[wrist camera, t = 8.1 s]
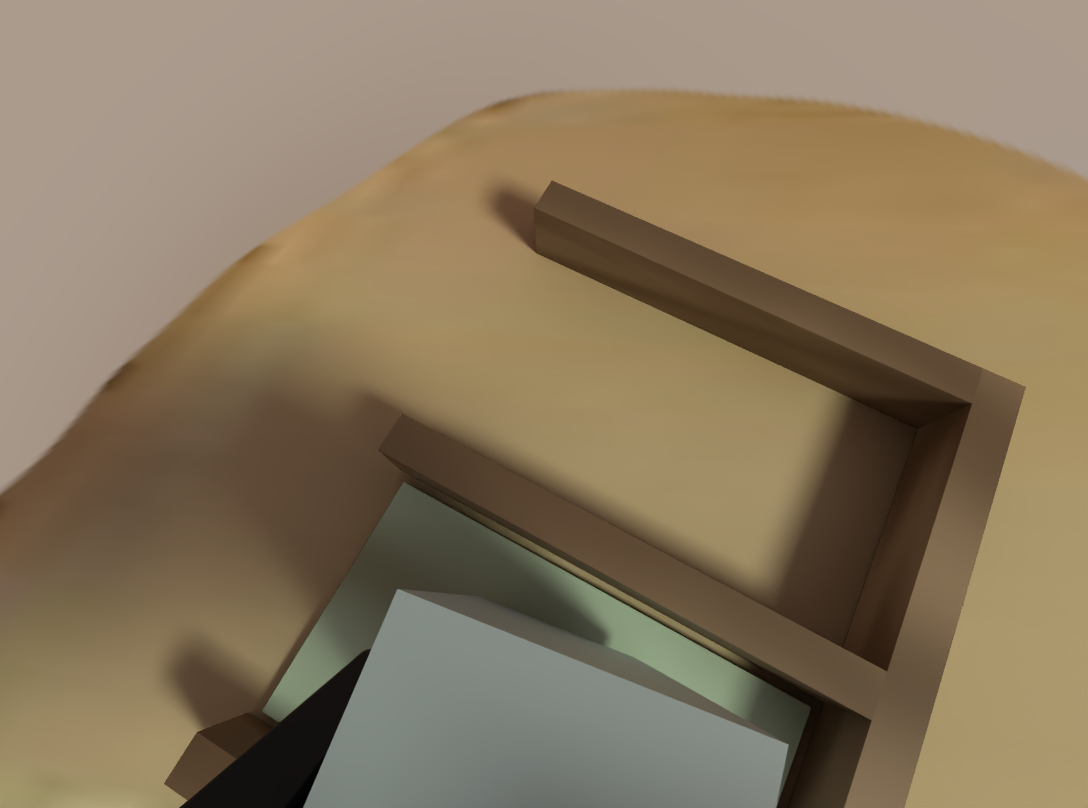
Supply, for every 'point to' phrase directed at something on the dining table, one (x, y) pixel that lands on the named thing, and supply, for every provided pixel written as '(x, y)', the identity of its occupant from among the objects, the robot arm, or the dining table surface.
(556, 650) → the tall grey square prism
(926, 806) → the dining table surface
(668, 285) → the comb rack
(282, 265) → the dining table surface
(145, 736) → the dining table surface
